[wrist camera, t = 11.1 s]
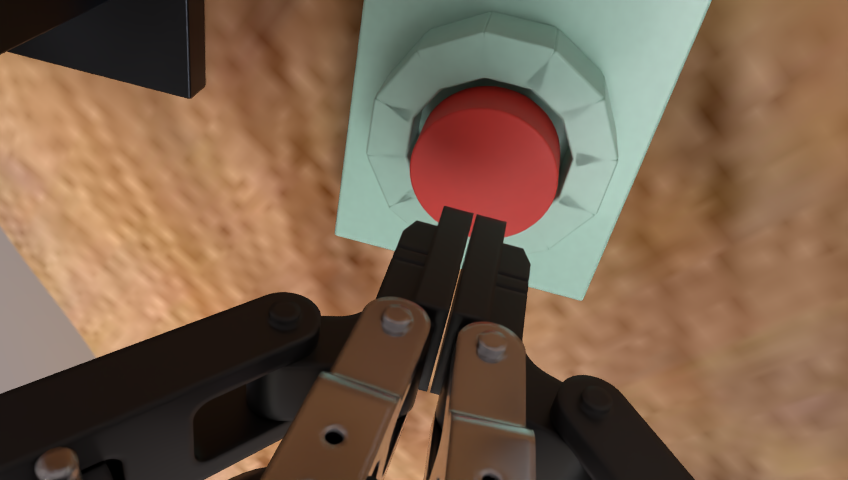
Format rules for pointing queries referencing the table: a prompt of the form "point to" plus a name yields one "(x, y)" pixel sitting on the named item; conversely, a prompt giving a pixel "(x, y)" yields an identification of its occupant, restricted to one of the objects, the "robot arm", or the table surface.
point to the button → (487, 158)
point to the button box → (526, 74)
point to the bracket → (113, 39)
